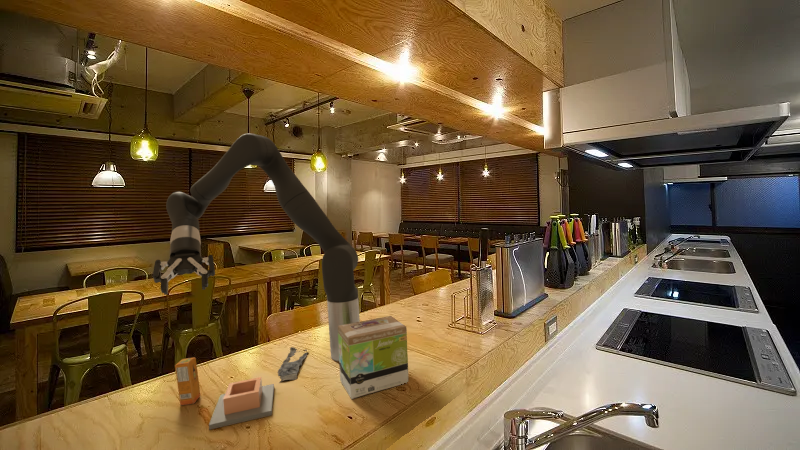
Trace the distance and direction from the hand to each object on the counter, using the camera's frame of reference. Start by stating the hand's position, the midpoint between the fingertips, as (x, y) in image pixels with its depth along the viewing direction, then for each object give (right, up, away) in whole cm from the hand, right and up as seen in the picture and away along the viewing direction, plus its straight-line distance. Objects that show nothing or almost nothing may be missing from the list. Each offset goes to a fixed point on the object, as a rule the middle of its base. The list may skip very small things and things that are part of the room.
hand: (185, 290), depth 88 cm
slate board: (+22, -24, -12) cm, 35 cm away
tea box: (+51, -22, -5) cm, 56 cm away
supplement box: (+7, -25, -9) cm, 27 cm away
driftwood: (+26, -24, +8) cm, 36 cm away
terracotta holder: (+22, -23, -13) cm, 34 cm away
